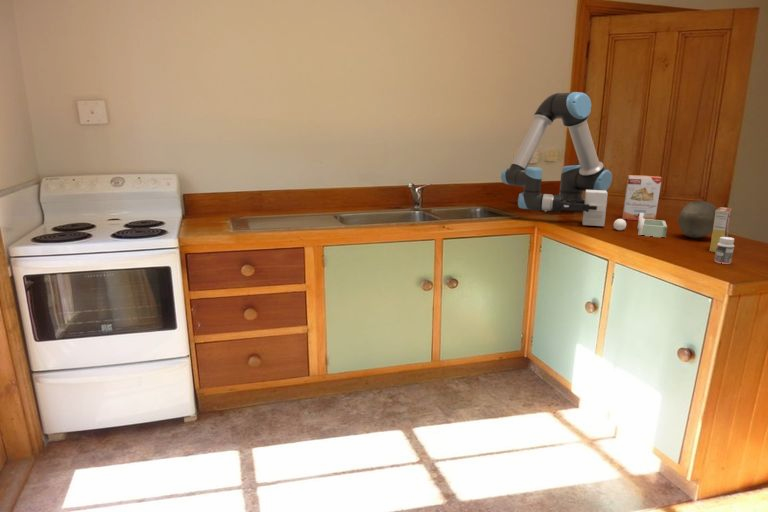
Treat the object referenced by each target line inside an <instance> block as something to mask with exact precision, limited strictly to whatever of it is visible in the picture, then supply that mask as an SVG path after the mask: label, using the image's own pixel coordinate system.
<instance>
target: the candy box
mask: <svg viewBox="0 0 768 512" xmlns="http://www.w3.org/2000/svg"><path fill="white" fill-rule="evenodd" d="M732 211H733V208H732V207H722V206H721V207H718V208H717V210H716V212H715V219H714V225H713V231H712V232H711V240H710V246H709V252H710V251H711V252H710V253H716V249H717V244H718V243H719V242H720V241H719V240H720V237H729V236H728V235H729V229H730V224H731V217H732Z"/></svg>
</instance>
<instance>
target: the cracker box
mask: <svg viewBox="0 0 768 512" xmlns="http://www.w3.org/2000/svg"><path fill="white" fill-rule="evenodd" d="M662 179H663V178H662V177H661V176H655V175H654V176H652V175H634V174H632V175H631V174H628V175H627V180H626V189H625V197H624V202H623V210H622V218H621V219H623V220H626V219H627V220H628V221H638V222H639V215H640V213H644V216H643V218H644V219H652V220H656V218H657V211H658V204H659V198H660V192H661V186H662Z"/></svg>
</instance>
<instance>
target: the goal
mask: <svg viewBox="0 0 768 512" xmlns="http://www.w3.org/2000/svg"><path fill="white" fill-rule="evenodd" d="M643 216H644V213H640V215H639V221H638V222H637V223H638V224H637V230H638V234H637V236H639V235H645V236H644V237H650V236H653V237H652V238H661V237H665V238H664V239H666V238H667V231H668V225H667V223H666V220H664V219H663V220H662V219H660V220H659V219H655V220H652V219H644V218H643Z"/></svg>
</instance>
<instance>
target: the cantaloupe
mask: <svg viewBox="0 0 768 512" xmlns="http://www.w3.org/2000/svg"><path fill="white" fill-rule="evenodd" d="M717 209H718V208H717V206H715V204H712V203H710V202H708V201H705V200H704V201H703V200H695V201H691V202H689V203H687V204H686V205H684V207H683V208H682V210H681V212H680V214H679V216H678V225H679V228H680V231H681V232H682V234H684V235H686V237H689V238H691V239H699V238H703V237H706V236H708V235H710V234H712V231H713V225H714V219H715V212H716V210H717Z"/></svg>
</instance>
